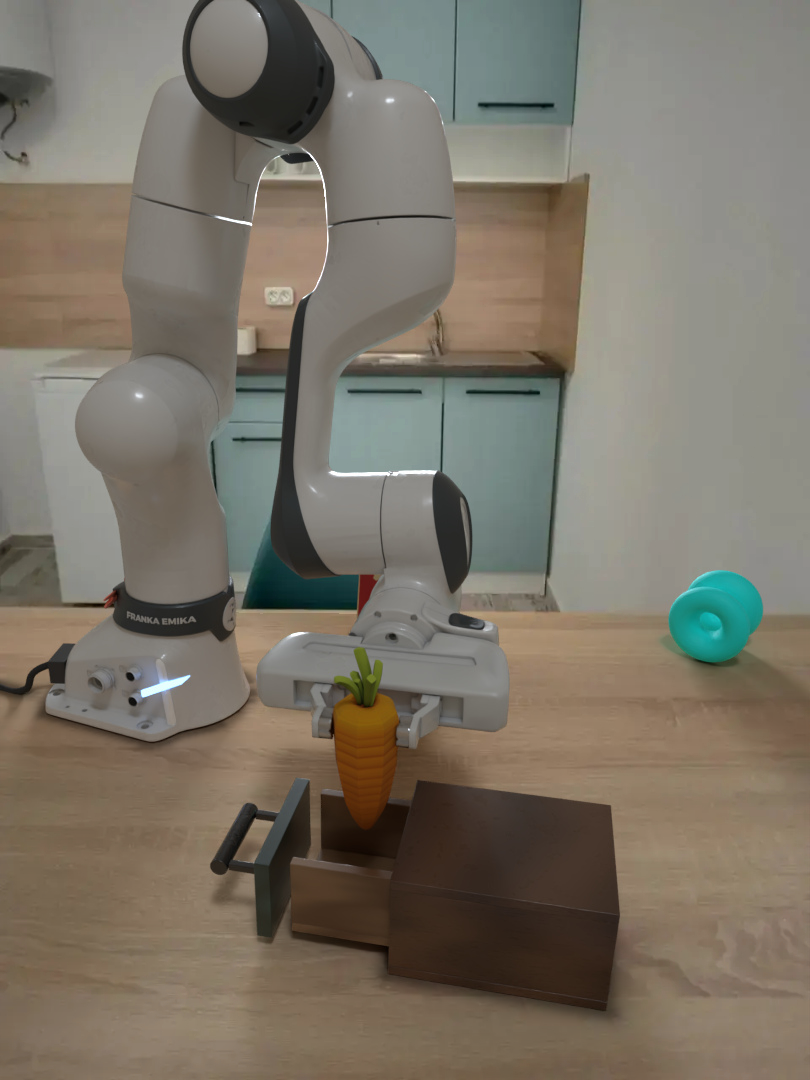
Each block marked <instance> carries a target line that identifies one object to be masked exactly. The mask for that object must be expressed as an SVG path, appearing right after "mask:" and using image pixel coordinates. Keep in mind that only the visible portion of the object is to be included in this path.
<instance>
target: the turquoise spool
mask: <svg viewBox="0 0 810 1080" xmlns="http://www.w3.org/2000/svg"><path fill="white" fill-rule="evenodd" d="M763 615H764V603H763V599H762V597H761V594H760V591H758V589H757V587H756V586H755V584H753V583H752V582H751V581H750V580H749V579H747V578H746V577H745V576H743V575H741V574H739V573H737V572H735V571H731V570H730V571H729V570H725V569H717V570H711V571H707V572H704V573H702V574H700V575H699V576H697V578H695V579H694V580H693V581H692V582H691V583H690V585H689V587H688V588H687V590H686V591H683V592H682V593H681V594H680V595H678V597H677V598H676V599H675V600H674V601H673V603H672V604H671V607H670V609H669V612H668V617H667V618H668V620H667V621H668V622H667V623H668V624H667V625H668V629H669V633H670V636H671V637H672V639H673V641H674V642H675V644H676V646H678V647H679V648H680V650H682V651H683V652H684V653H685V654H686V655H688V656H689V657H692V658H693V659H696V660H698V661H701V662H706V663H722V662H725V661H728V660H731V659H733V658H735V657H736V656H738V655H739V654H740V653H741V652H743V650H744V648H745V647H746V645H747V643H748V641H749V639H750V636H751V635H752V634H754V633H755V632H756V631H757V629H758V628H759V626H760V625H761V622H762V620H763Z"/></svg>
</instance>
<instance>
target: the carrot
mask: <svg viewBox="0 0 810 1080" xmlns="http://www.w3.org/2000/svg"><path fill="white" fill-rule="evenodd" d="M354 655H355V658H356V661H357V664H358V667H359V670H360V673H361V677H362V679H361V677H360V674H359V672H356V671H352V672H350V676H351V678H352V680H351V679H350V678H347V677H345V676H335V677H334V683H336V684H339V685H342V686H344V687H345V688H347V689H348V690H349V691H350V692H351V693H350V694H349V695H348V696H346V697H345V698H343V699H342V700H340V701H339V702H338V703H337V704H335V705H334V709H333V729H334V734H333V743H334V756H335V761H336V766H337V772H338V776H339V777H338V778H339V782H340V787H341V791H343V795H344V799H345V802H346V805H347V807H348V809H349V811H350V813H351V815H352V817H353V818H354V820H355V821H356V823H357V824H358V825H359V827H361V828H363V829H364V830H368V829H370V828H371V827H372V826H373V825H374V824H375V823H376V821H377V820H378V818H379V817H380V815H381V813H382V812H383V810H384V808H385V806H386V803H387V801H388V799H389V798H390V796H391V792H392V788H393V784H394V780H395V774H396V770H397V764H398V751H399V747H396V740H397V737H396V728H397V724H398V723H399V717H398V714H397V711H396V708H395V705H394V702H393V700H392V699H391V698H390V697H388V696H385V695H382V694H380V693H377V690H378V687H379V684H380V681H381V676H382V670H383V663H382V662H381V661H380V660H375V663H374V668H373V675H372V670H371V666H370V663H369V659H368V656H367V653H366V650H365V648H362V647H357V648H356V649H354Z"/></svg>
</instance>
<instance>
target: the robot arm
mask: <svg viewBox="0 0 810 1080" xmlns="http://www.w3.org/2000/svg"><path fill="white" fill-rule="evenodd" d="M183 31H184V32H183V37H182V43H181V44H182V47H181V55H182V56H181V57H182V66H183V72H184V74H181V75H177V76H174V77H171V78H169V79H167V80H166V81H164V82H163V83H162V84H161V85H160V86H159V87H158V88H157V90H156V91H155V93H154V96H153V98H152V101H151V104H150V107H149V109H148V113H147V116H146V119H145V124H144V126H143V131H142V134H141V138H140V142H139V146H138V153H137V156H136V161H135V167H134V172H133V179H132V187H131V195H130V202H129V211H128V220H127V230H126V236H125V237H126V238H125V246H124V255H123V264H122V270H121V271H122V272H121V283H122V287H123V291H124V293H125V295H126V297H127V300H128V301H127V302H128V306H129V315H130V323H131V324H130V328H131V352H130V355H129V359H128V361H127V362H125V363H122V364H120V365H117V366H114V367H113V368H111V369H109V370H107V371H106V372H105V373H103V374H102V375H100V377H99V378H98V379H97V380H96V381H95V382H94V383H93V385H92V386H91V387H90V389H89V390H88V391H87V392H86V393H85V395H84V397H83V398H82V399H81V401H80V403H79V405H78V407H77V410H76V413H75V419H74V431H75V438H76V440H77V444H78V446H79V448H80V450H81V452H82V454H83V455H84V457H85V458H86V460H87V461H88V462H89V463H90V464H91V465H92V466H93V468H95V469H96V470H97V471H99V473H100V474H101V477H102V479H103V480H102V481H103V482H104V484H105V487H106V490H107V493H108V495H109V498H110V501H111V504H112V507H113V510H114V514H115V518H116V523H117V526H118V532H119V543H120V551H121V558H122V567H123V568H122V569H123V577H124V578H123V581H121V582H119V583H118V584H117V585H115V586H114V587H113V588H112V592H110V593H109V594H108V595H107V596H105V597H104V598H103V600H102V601H103V602H105V604H104V605H103V608H104V609H108V608H109V607H110V606H112V605H113V606H114V607H113V608H114V609H113V613H111V614H110V615H108V616H107V617H106V618H104V619H103V620H102V621H100V622H99V623H98V624H96V625H95V626H94V627H93V628H91V629H90V630H89V631H87V632H86V633H85V634H84V635H83V636H81V638H79V640H77V642H76V643H71V642H70V643H68V642H66V643H65V642H63V643H62V644H61V645H60V646H59V648H58V649H57V650H56V651H55V653H53V655H52V656H51V657H50V658H49V660H47V661H45V662H42V663H40V664H38V665H36V666H34V667H33V668H31V670H30V671H29V672H28V673H27V676H26V679H25V684H24V686H21V687H10V686H7V685H5V684H3V683H0V691H2V692H5V693H9V694H13V695H23V694H26V693H28V692H30V691H31V689H32V688H33V686H34V681H35V677H36V676H37V675H38V674H40V673H41V672H44V671H46V670H48V675H49V682H50V684H52V686H51V688H50V689H49V690H48V693H47V694H46V697H45V713H46V714H48V715H51V716H53V717H57V718H61V719H64V720H69V721H72V722H76V723H79V724H83V725H86V726H90V727H94V728H98V729H101V730H105V731H109V732H112V733H116V734H118V735H123V736H127V737H130V738H134V739H138V740H141V741H145V742H151V743H152V742H153V743H154V742H159V741H162V740H165V739H166V738H169V737H173V735H176V734H178V733H181V732H184V731H188V730H193V729H197V728H201V727H205V726H209V725H212V724H215V723H218V722H220V721H223V720H224V719H227V718H228V717H230V716H232V715H233V714H235V713H237V712H238V711H239V710H240V709H241V708H242V707H243V706H244V705H245V704H246V703H247V701H248V699H249V698H250V693H251V687H250V684H249V681H248V679H247V676H246V673H245V671H244V668H243V664H242V660H241V657H240V653H239V648H238V644H237V643H238V642H237V638H236V637H237V636H236V630H235V629H236V625H237V602H236V595H235V593H236V592H235V584H234V579H233V577H232V576H231V575H230V563H229V561H230V560H229V546H228V545H229V544H228V526H227V525H228V523H227V514H226V510H225V509H224V507H223V505H221V503H220V501H219V498H218V495H217V491H216V488H215V484H214V480H213V475H212V472H211V466H210V448H211V447H210V446H211V443H212V442H213V441H214V440H215V439H216V438H218V437H219V435H221V434H222V433H223V432H224V430H225V429H226V427H227V426H228V424H229V423H230V420H231V417H232V416H233V412H234V408H235V403H236V397H237V390H236V389H237V388H236V380H237V379H236V377H237V366H238V365H237V363H238V340H239V338H238V337H239V336H238V335H239V332H238V330H239V328H238V327H239V325H238V324H239V310H240V301H241V294H242V287H243V281H244V276H245V270H246V264H247V257H248V251H249V245H250V239H251V233H252V226H253V224H252V223H253V220H254V214H255V206H256V200H257V192H258V189H259V184H260V181H261V178H262V175H263V173H264V171H265V170H266V168H268V166H269V165H270V164H271V162H273V161H274V160H275V159H277V158H281V160H283V161H284V162H285V163H286V164H290V165H295V164H303V163H304V164H305V163H309V162H315V163H316V165H317V167H318V169H319V172H320V175H321V179H322V184H323V189H324V197H325V199H324V200H325V215H326V229H327V246H326V253H325V254H326V255H325V260H324V264H323V268H322V271H321V274H320V277H319V279H318V281H317V283H316V286H315V287H314V289H313V291H311V292H310V293H308V294H307V295H305V296H304V297H302V298H301V299H300V300H299V302H298V304H297V306H296V310H295V314H294V317H293V321H292V325H291V332H290V340H289V346H288V355H287V356H288V357H287V363H286V364H287V365H286V374H285V375H286V376H285V389H284V399H283V400H284V401H283V411H282V412H283V413H282V425H281V427H282V428H281V439H280V440H281V441H280V452H279V464H278V472H277V478H276V483H275V490H274V495H273V501H272V506H271V507H272V508H271V514H270V529H269V530H270V531H269V533H270V543H271V547H272V550H273V552H274V554H275V555H276V556H277V558H279V560H280V561H281V562H282V563H283V564H284V565H285V566H286V567H287V568H289V569H290V570H291V571H292V572H294V573H295V574H296V575H298V576H299V577H300V578H302V579H303V580H311V579H321V578H322V579H324V578H325V579H326V578H333V577H342V576H345V575H350V576H351V575H353V576H354V575H358V576H359V575H381V576H380V578H379V580H378V581H377V583H376V584H375V586H374V588H373V590H372V592H371V595H370V598H369V600H368V601H367V603H366V604H365V605H364V607H363V609H362V610H361V612H360V614H359V616H358V618H357V617H356V619H357V620H355V622H354V624H353V625H352V627H351V630H350V631H349V633H348V635H345V634H335V633H326V632H315V631H314V632H313V631H298V632H297V631H296V632H292V633H290V634H287V635H286V636H285V637H283V638H282V639H280V640H279V641H278V642H277V643H276V644H274V645H273V647H272V648H271V649H269V650H268V651H267V652H266V653H265V654H264V656H263V657H262V658H261V659H260V661H259V662H258V663H257V665H256V670H255V671H256V672H255V674H256V675H255V679H256V680H255V681H256V692H257V693H256V694H257V697H258V699H259V701H260V702H261V703H262V705H263V706H264V707H268V708H273V709H274V708H275V709H283V710H293V711H299V712H300V711H301V712H309V713H310V715H311V718H312V719H311V736H312V738H314V739H323V740H324V739H325V740H334V729H333V709H334V705H335V704H337V703H338V702H339V701H340V700H342V699H343V698H345V697H346V696H348V695H349V694H350V693H351V692H350V691H349V690H348V689H347V688H345V687H344V686H342V685H339V684H336V683H334V677H335V676H345V677H347V678H350V679H351V680H352V678H351V676H350V672H352V671H356V672H359V674H360V677H361V673H360V670H359V667H358V664H357V661H356V658H355V655H354V649H356V648H357V647H362V648H365V650H366V653H367V656H368V659H369V663H370V666H371V670H372V675H373V668H374V663H375V660H380V661H381V662H382V663H383V670H382V676H381V681H380V684H379V687H378V690H377V693H380V694H382V695H385V696H388V697H390V698H391V699H392V700H393V702H394V705H395V708H396V711H397V714H398V717H399V723H398V724H397V728H396V737H397V740H396V747H398V748H404V749H410V750H417V749H418V745H419V741H420V739H422V738H424V737H425V736H427V735H429V734H431V733H432V732H434V731H436V730H438V727H443V728H452V729H461V730H469V731H470V730H471V731H478V732H485V733H496V732H499V731H500V730H503V729H504V728H506V727H507V725H508V718H509V706H510V688H511V687H510V686H511V684H510V683H511V682H510V680H511V678H510V668H509V661H508V658H507V655H506V653H505V651H504V649H503V648H502V647H501V646H500V635H499V634H500V633H499V626H498V625H497V624H496V623H494V622H493V621H489V620H485V619H481V618H477V617H474V616H470V615H466V614H463V613H461V610H462V609H461V608H462V600H463V597H462V596H463V587H462V585H463V584H464V582H465V581H466V579H467V577H468V576H469V573H470V569H471V565H472V558H473V557H472V556H473V524H472V523H473V522H472V515H471V510H470V509H471V508H470V505H469V502H468V499H467V497H466V495H465V494H464V493H463V492H462V490H461V489H460V487H459V486H458V485H457V484H456V483H455V482H454V481H453V480H452V479H451V478H450V477H449V476H448V475H447V474H446V473H444V472H442V471H440V470H439V469H437V470H423V469H422V470H421V469H420V470H418V469H417V470H416V469H415V470H389V471H380V472H375V471H374V472H339V471H334V470H333V469H332V468H331V466H330V461H329V460H330V451H331V450H330V449H331V439H332V428H333V417H334V408H335V396H336V390H337V385H338V381H339V379H340V377H341V375H342V373H343V371H344V370H345V369H346V368H347V366H349V364H351V363H352V362H353V361H354V360H355V359H357V358H358V357H360V356H361V355H362V354H364V353H366V352H367V351H370V350H372V349H374V348H376V347H378V346H380V345H382V344H384V343H387V342H389V341H391V340H393V339H395V338H397V337H399V336H401V335H404V334H405V333H408V332H411V331H412V330H414V329H415V328H417V327H418V326H420V325H422V324H423V323H424V322H425V321H426V322H427V320H428V319H430V318H431V317H432V316H433V315H434V314H435V313H436V312H437V311H438V310H439V309H440V307H441V306H442V305H443V304H444V302H445V301H446V300H447V298H448V296H449V294H450V292H451V290H452V288H453V286H454V282H455V277H456V267H457V266H456V265H457V241H458V240H457V222H456V221H457V215H456V214H457V213H456V198H455V197H456V196H455V188H454V177H453V170H452V164H451V157H450V152H449V146H448V140H447V136H446V135H447V134H446V131H445V126H444V121H443V118H442V114H441V111H440V108H439V106H438V104H437V103H436V101H435V100H434V98H433V97H432V96H431V95H430V94H429V93H428V92H427V90H424V89H423V88H421V87H420V86H417V85H415V84H413V83H411V82H407V81H404V80H401V79H393V78H392V79H391V78H384V75H383V73H382V71H381V68H380V66H379V64H378V62H377V61H376V59H375V57H374V56H373V54H372V53H371V52H370V50H369V49H368V47H367V46H366V45H365V44H364V43H363V42H362V41H360V40H359V39H357V38H356V37H355V36H353V35H351V34H350V33H349V32H348V31H347V30H346V29H345V28H344V27H343V26H342V25H341V24H340V23H338V22H337V21H336V20H335V19H333V18H332V17H331V16H329V15H328V14H327V13H325V12H323V11H322V10H320V9H318V8H315V7H313V6H309V5H308V4H306V3H304V2H301V1H299V0H198V1H197V2H196V3H195V5H194V6H193V8H192V9H191V12H190V14H189V15H188V18H187V21H186V24H185V26H184V30H183ZM361 679H362V677H361Z"/></svg>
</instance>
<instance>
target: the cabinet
mask: <svg viewBox="0 0 810 1080" xmlns="http://www.w3.org/2000/svg"><path fill="white" fill-rule="evenodd" d="M411 801H412V802H411V805H410V809H409V813H408V816H407V820H406V824H405V828H404V831H403V835H402V839H401V842H400V846H399V850H398V854H397V857H396V861H395V865H394V868H393V872H392V876H391V880H390V915H389V946H388V958H387V959H388V962H387V964H388V965H387V974H388V975H392V976H399V977H404V978H411V979H416V980H423V981H427V982H428V981H429V982H434V983H440V984H446V985H452V986H457V987H464V988H469V989H476V990H482V991H486V992H487V991H488V992H492V993H493V992H494V993H500V994H505V995H511V996H516V997H524V998H528V999H535V1000H541V1001H546V1002H552V1003H558V1004H564V1005H570V1006H577V1007H583V1008H587V1009H594V1010H600V1011H607V1008H608V1001H609V1000H608V999H609V993H610V986H611V981H612V980H611V979H612V973H613V968H614V967H613V966H614V960H615V953H616V945H617V938H618V932H619V925H620V919H621V910H620V898H619V886H618V885H619V883H618V874H617V862H616V851H615V839H614V825H613V812H612V805H611V804H606V803H605V804H604V803H596V802H590V801H582V800H574V799H567V798H560V797H552V796H545V795H537V794H530V793H522V792H513V791H506V790H499V789H490V788H483V787H475V786H467V785H460V784H454V783H453V784H452V783H445V782H437V781H429V780H422V779H417V780H416V783H415V787H414V791H413V795H412V798H411Z"/></svg>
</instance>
